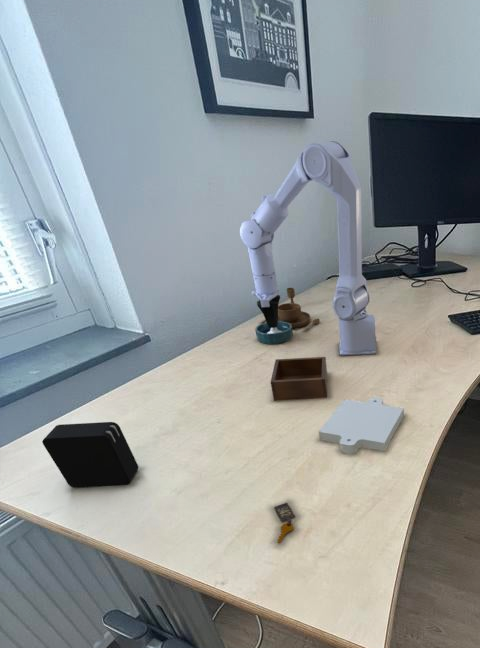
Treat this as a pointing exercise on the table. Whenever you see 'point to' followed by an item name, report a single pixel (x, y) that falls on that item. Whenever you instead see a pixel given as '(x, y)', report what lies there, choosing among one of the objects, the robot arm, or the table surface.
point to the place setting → (293, 313)
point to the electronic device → (91, 454)
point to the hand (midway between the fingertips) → (273, 325)
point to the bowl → (274, 337)
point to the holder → (299, 378)
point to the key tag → (284, 518)
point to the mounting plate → (362, 425)
